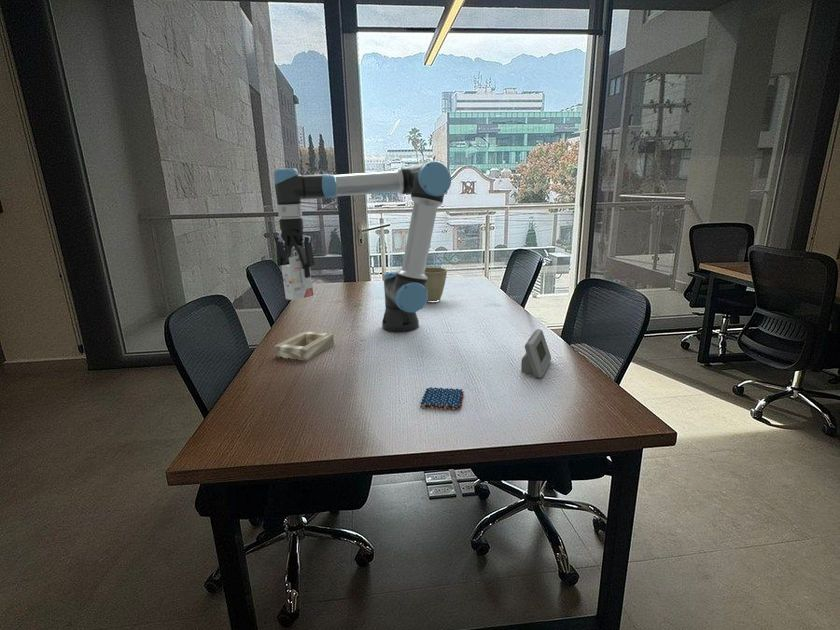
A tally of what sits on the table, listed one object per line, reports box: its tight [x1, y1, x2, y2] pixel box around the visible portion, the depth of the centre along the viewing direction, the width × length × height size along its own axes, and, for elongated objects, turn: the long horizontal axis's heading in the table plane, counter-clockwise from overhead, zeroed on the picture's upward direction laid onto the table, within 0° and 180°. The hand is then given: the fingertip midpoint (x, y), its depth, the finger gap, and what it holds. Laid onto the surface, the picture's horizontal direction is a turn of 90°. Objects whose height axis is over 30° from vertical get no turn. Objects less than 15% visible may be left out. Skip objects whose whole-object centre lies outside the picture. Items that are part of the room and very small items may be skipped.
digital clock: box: [520, 328, 552, 379], centre depth 132 cm, size 16×9×11 cm, turn 143°
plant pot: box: [425, 267, 448, 301], centre depth 216 cm, size 15×15×16 cm
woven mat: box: [420, 386, 465, 411], centre depth 115 cm, size 10×11×2 cm
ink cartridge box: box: [280, 255, 314, 301], centre depth 148 cm, size 9×5×15 cm, turn 143°
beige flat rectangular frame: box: [274, 330, 335, 362], centre depth 155 cm, size 13×17×4 cm
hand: (298, 286), depth 149 cm, fingers closed on ink cartridge box, 6 cm apart
